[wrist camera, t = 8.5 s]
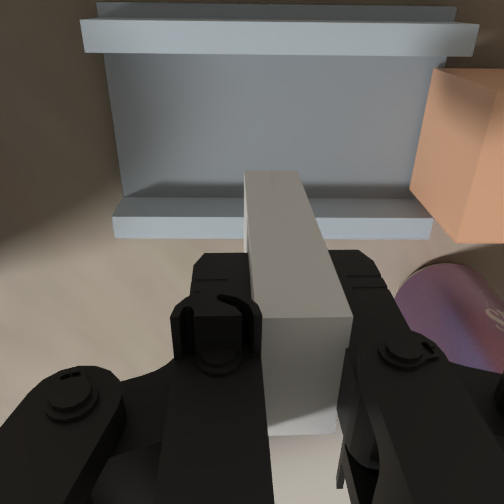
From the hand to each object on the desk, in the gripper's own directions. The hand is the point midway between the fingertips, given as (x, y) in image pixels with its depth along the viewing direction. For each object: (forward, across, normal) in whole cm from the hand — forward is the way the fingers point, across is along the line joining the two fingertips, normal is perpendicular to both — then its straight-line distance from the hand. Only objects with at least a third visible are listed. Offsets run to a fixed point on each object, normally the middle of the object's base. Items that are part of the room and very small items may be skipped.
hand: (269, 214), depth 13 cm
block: (+10, +11, 0) cm, 15 cm away
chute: (+12, +1, 0) cm, 12 cm away
